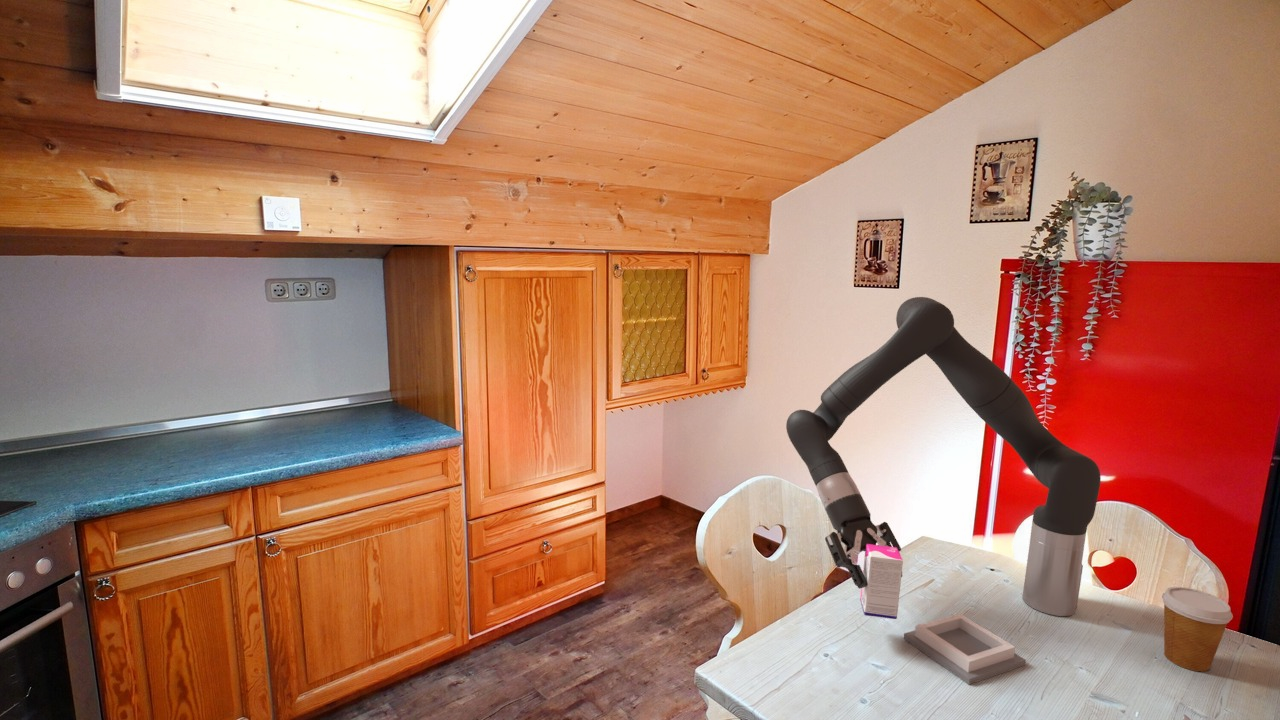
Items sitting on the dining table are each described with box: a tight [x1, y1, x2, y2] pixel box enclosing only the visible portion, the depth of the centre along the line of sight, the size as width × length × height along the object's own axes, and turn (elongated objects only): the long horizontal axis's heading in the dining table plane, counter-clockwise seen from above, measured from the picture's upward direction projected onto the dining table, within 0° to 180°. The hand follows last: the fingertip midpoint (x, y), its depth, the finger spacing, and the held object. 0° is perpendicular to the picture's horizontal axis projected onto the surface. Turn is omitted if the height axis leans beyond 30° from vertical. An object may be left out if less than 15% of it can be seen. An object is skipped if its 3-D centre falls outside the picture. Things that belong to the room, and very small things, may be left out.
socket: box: [903, 613, 1026, 685], centre depth 115 cm, size 14×14×3 cm
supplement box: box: [860, 544, 904, 620], centre depth 117 cm, size 6×6×12 cm
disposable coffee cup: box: [1161, 586, 1234, 673], centre depth 113 cm, size 10×10×12 cm
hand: (881, 582), depth 117 cm, fingers closed on supplement box, 8 cm apart
